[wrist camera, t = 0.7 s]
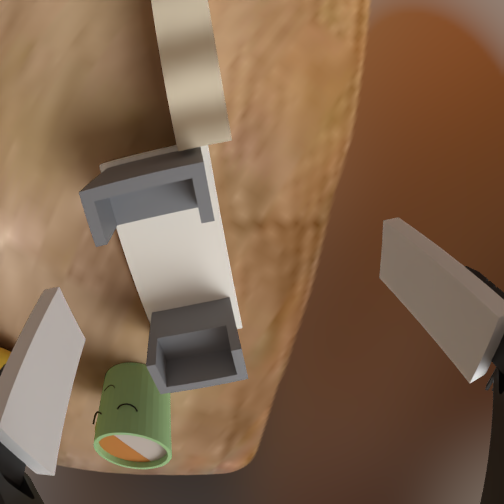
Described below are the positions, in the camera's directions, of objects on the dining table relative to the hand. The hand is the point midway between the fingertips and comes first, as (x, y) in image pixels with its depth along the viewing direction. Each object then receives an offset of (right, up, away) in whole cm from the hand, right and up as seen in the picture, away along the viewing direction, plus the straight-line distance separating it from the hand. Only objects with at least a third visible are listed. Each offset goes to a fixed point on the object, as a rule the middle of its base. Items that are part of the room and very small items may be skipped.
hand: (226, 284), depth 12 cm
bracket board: (-7, +1, +23) cm, 24 cm away
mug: (-17, -19, +31) cm, 40 cm away
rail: (-5, +20, +15) cm, 25 cm away
